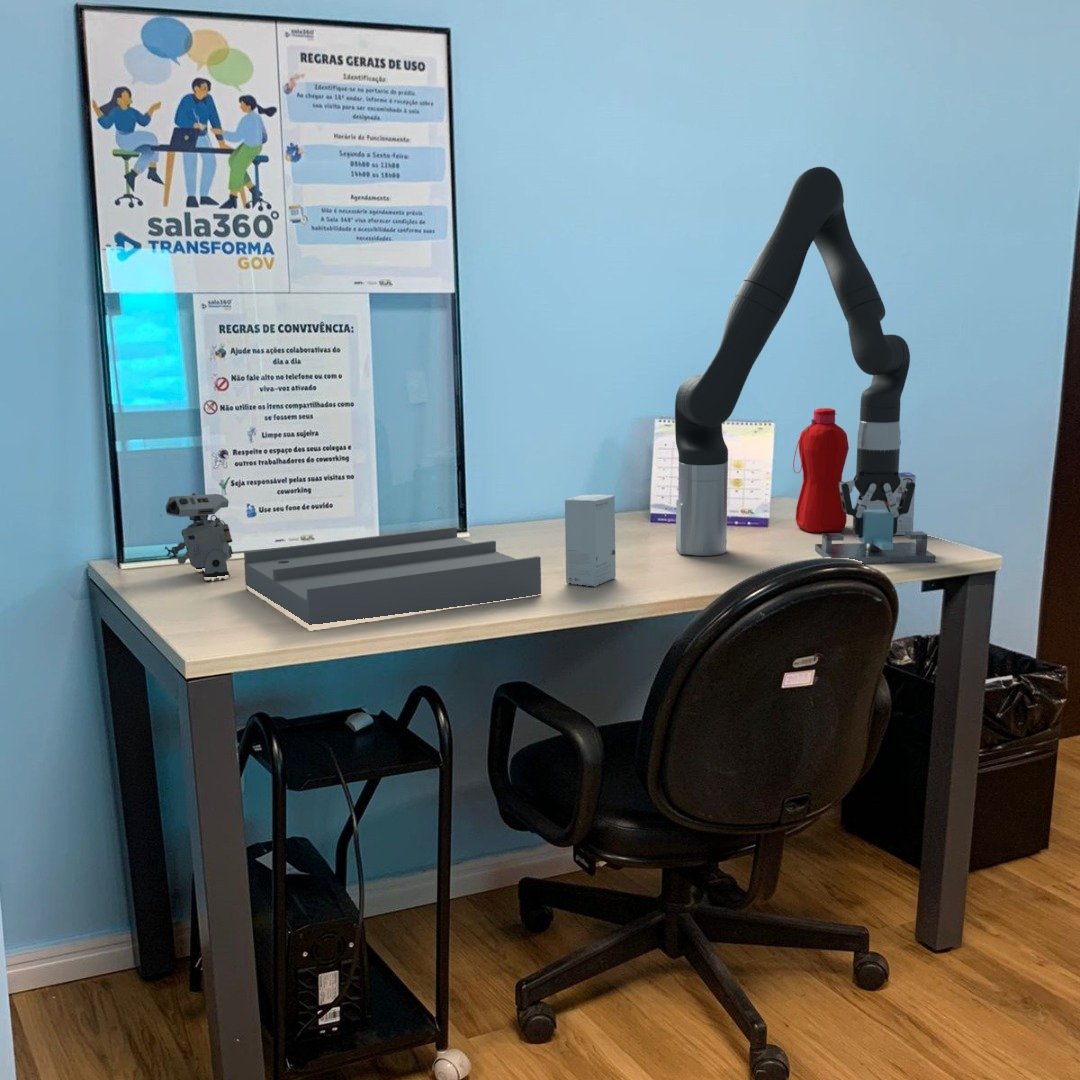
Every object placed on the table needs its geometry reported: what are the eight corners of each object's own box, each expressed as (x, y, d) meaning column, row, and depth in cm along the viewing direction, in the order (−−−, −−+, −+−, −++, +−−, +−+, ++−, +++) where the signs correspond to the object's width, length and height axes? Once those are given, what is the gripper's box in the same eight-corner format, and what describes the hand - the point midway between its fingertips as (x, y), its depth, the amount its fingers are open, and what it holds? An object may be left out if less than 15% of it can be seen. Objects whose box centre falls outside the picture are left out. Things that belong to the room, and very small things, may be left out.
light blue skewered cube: (848, 532, 236) (849, 504, 235) (875, 532, 236) (876, 504, 235) (872, 549, 220) (874, 520, 219) (901, 549, 221) (903, 519, 219)
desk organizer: (541, 598, 203) (540, 557, 202) (310, 634, 184) (307, 589, 182) (455, 563, 230) (454, 526, 229) (246, 591, 210) (243, 551, 209)
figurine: (162, 575, 221) (156, 493, 218) (227, 568, 226) (222, 488, 223) (171, 586, 213) (165, 501, 210) (238, 578, 218) (233, 495, 215)
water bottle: (783, 526, 258) (786, 407, 253) (832, 524, 260) (836, 405, 255) (800, 535, 249) (803, 411, 244) (851, 532, 251) (855, 409, 246)
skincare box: (595, 588, 208) (594, 501, 205) (563, 584, 211) (562, 498, 208) (617, 577, 215) (617, 493, 212) (586, 574, 218) (585, 491, 215)
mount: (831, 564, 223) (833, 530, 222) (814, 550, 235) (816, 518, 234) (935, 562, 224) (937, 528, 223) (913, 548, 236) (914, 516, 234)
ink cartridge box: (907, 530, 253) (910, 460, 250) (914, 535, 247) (918, 464, 244) (858, 530, 253) (861, 460, 250) (865, 536, 248) (868, 464, 245)
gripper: (910, 442, 229) (906, 532, 232) (834, 443, 228) (830, 533, 232) (924, 447, 221) (919, 540, 225) (845, 448, 221) (841, 541, 224)
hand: (874, 536), depth 228 cm, fingers closed on light blue skewered cube, 5 cm apart
